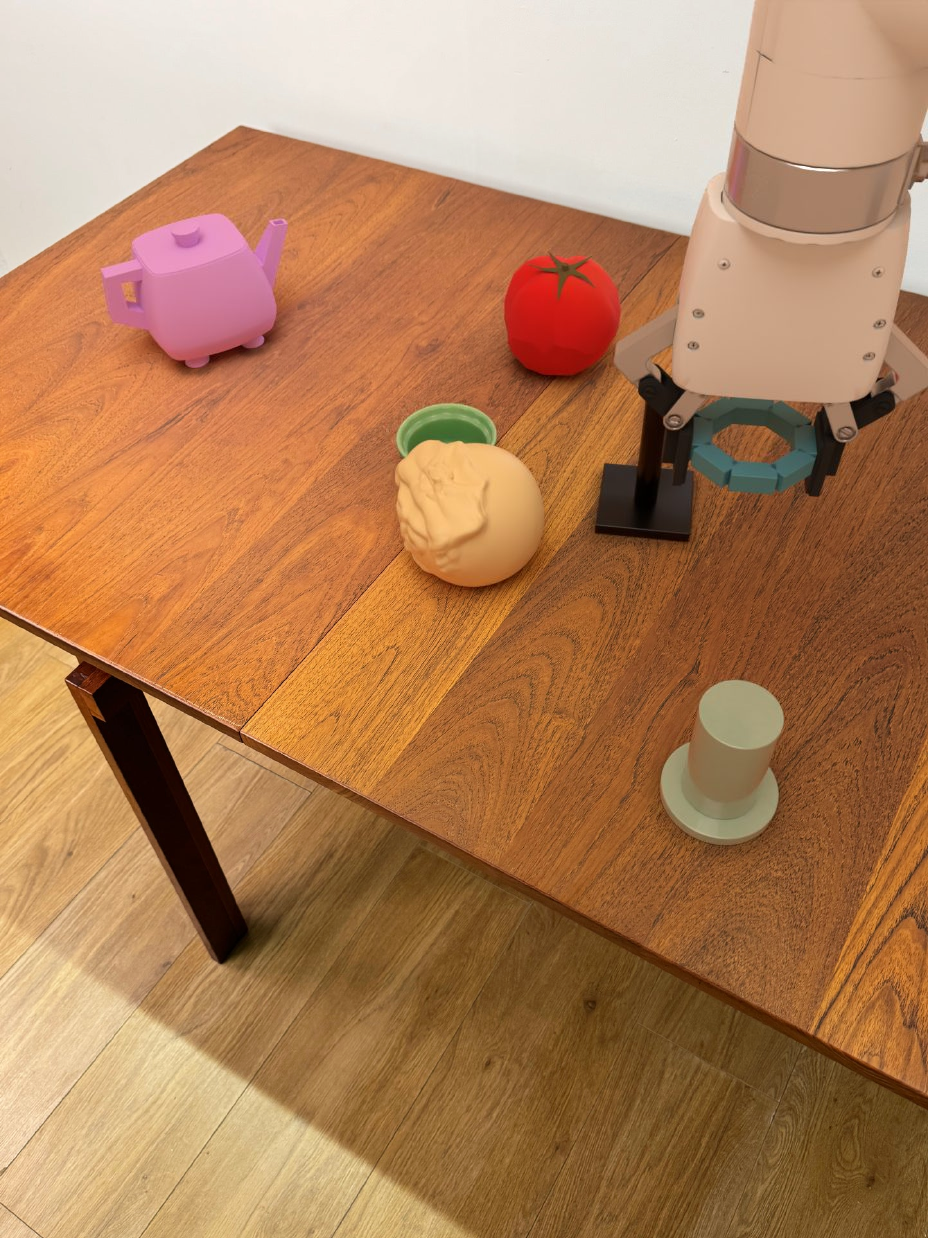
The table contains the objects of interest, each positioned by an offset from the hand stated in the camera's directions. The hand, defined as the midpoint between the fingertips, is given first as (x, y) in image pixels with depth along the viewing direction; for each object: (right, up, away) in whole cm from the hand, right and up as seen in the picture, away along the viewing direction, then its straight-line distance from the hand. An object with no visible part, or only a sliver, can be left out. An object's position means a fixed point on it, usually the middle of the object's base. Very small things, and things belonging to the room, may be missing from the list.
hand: (744, 472), depth 57 cm
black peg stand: (0, +2, +31) cm, 31 cm away
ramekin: (-17, +5, +35) cm, 40 cm away
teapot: (-43, +22, +51) cm, 70 cm away
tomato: (-6, +18, +45) cm, 49 cm away
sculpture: (-15, -3, +28) cm, 32 cm away
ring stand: (+2, -21, +13) cm, 24 cm away
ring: (0, +1, -1) cm, 2 cm away
